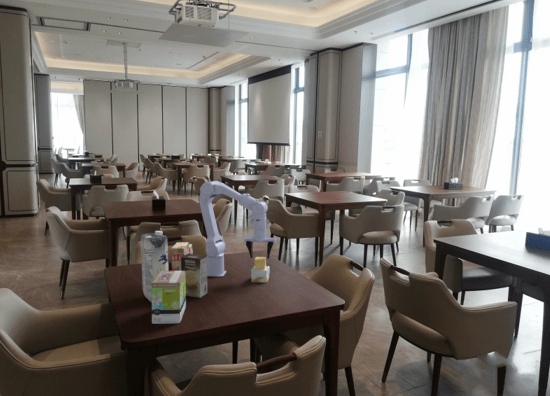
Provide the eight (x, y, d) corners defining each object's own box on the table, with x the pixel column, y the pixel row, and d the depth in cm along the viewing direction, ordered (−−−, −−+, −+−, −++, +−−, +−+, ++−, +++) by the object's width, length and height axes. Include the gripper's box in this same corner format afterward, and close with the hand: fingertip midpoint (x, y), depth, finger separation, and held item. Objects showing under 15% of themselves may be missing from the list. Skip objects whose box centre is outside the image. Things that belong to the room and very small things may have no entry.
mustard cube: (254, 269, 195) (254, 259, 195) (256, 266, 199) (256, 256, 199) (264, 269, 194) (264, 259, 194) (266, 266, 199) (266, 257, 198)
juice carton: (148, 303, 168) (146, 235, 164) (141, 296, 176) (138, 230, 173) (171, 299, 172) (169, 232, 169) (162, 292, 181) (160, 228, 178)
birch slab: (251, 283, 195) (251, 276, 194) (254, 278, 201) (254, 272, 201) (267, 283, 194) (267, 277, 193) (269, 278, 201) (269, 272, 200)
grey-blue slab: (251, 276, 194) (251, 269, 194) (254, 271, 201) (254, 265, 201) (266, 277, 193) (266, 270, 193) (269, 272, 200) (269, 266, 200)
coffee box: (180, 295, 177) (179, 256, 175) (188, 290, 183) (187, 253, 181) (200, 298, 174) (199, 258, 172) (208, 292, 180) (207, 255, 178)
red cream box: (181, 261, 230) (180, 238, 229) (193, 261, 230) (192, 238, 229) (171, 272, 209) (171, 247, 207) (184, 272, 209) (184, 247, 207)
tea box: (181, 323, 149) (180, 281, 147) (151, 324, 148) (149, 282, 147) (186, 307, 164) (185, 269, 162) (159, 308, 163) (158, 270, 161)
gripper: (242, 229, 193) (242, 259, 194) (274, 230, 191) (274, 260, 193) (245, 226, 200) (245, 255, 201) (276, 227, 198) (276, 256, 200)
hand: (259, 257), depth 197 cm, fingers open, 7 cm apart
